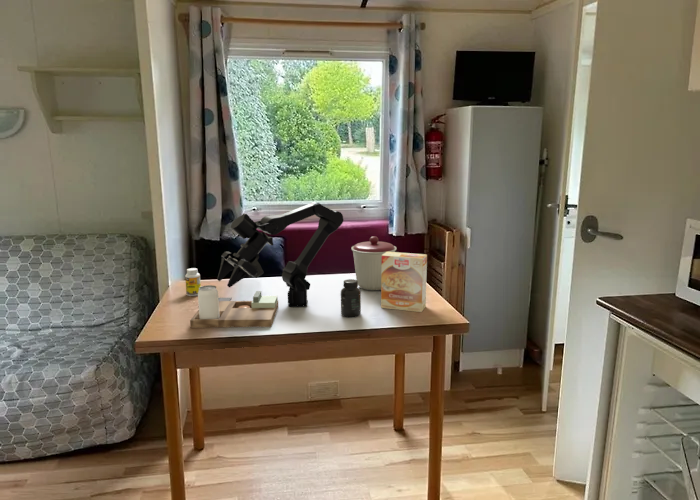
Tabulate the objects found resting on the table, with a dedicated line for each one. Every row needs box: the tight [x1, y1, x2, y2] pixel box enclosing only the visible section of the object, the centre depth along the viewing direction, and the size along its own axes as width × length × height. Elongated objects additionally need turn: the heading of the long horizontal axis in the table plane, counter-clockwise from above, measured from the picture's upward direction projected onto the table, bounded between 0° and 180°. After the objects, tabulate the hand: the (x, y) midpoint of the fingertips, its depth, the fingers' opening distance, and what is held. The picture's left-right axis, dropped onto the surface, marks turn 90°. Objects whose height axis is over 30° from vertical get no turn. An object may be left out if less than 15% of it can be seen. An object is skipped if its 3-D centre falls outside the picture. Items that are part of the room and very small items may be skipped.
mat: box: [198, 297, 233, 308], centre depth 195 cm, size 10×10×1 cm
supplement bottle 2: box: [340, 278, 362, 318], centre depth 180 cm, size 7×7×12 cm
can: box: [197, 284, 220, 319], centre depth 173 cm, size 6×6×12 cm
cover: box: [251, 290, 279, 308], centre depth 184 cm, size 8×8×4 cm
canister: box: [350, 236, 398, 291], centre depth 211 cm, size 18×18×21 cm
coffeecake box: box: [380, 251, 428, 313], centre depth 186 cm, size 15×7×20 cm, turn 70°
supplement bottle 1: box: [184, 267, 202, 297], centre depth 204 cm, size 6×6×10 cm
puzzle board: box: [189, 300, 279, 329], centre depth 179 cm, size 26×20×2 cm
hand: (223, 283), depth 174 cm, fingers open, 9 cm apart
